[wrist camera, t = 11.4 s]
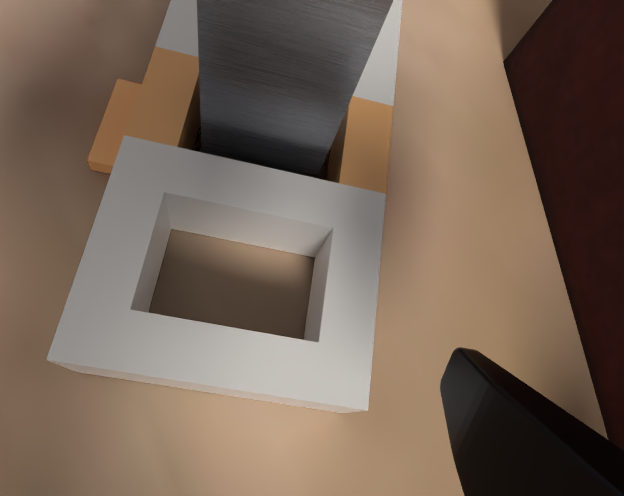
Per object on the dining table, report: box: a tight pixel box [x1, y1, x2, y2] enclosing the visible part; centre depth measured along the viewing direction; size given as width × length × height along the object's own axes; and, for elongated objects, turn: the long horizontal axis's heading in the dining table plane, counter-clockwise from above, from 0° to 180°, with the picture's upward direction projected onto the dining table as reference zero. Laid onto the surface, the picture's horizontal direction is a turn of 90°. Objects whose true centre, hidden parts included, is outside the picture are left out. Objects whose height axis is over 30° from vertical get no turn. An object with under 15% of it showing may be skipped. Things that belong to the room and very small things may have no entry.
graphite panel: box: [197, 0, 393, 178], centre depth 17 cm, size 3×5×13 cm, turn 83°
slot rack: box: [46, 0, 402, 413], centre depth 21 cm, size 22×12×4 cm, turn 172°
